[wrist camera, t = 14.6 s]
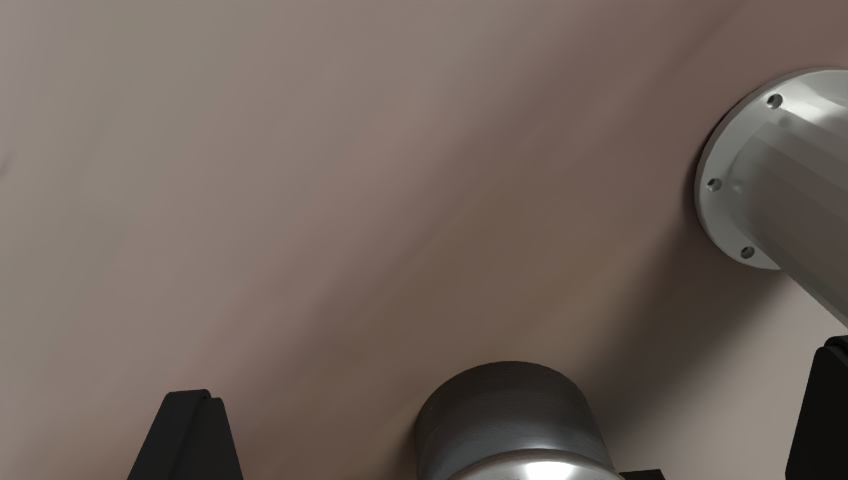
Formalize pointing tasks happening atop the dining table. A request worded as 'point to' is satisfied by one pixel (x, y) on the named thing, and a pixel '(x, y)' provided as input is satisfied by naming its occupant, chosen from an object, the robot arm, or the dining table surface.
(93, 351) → the dining table surface
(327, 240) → the dining table surface
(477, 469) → the lid
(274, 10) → the dining table surface
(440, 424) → the pot
